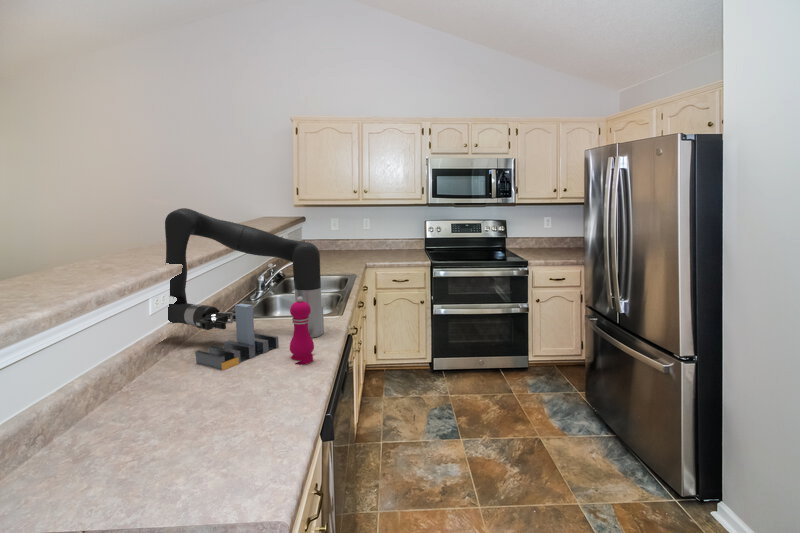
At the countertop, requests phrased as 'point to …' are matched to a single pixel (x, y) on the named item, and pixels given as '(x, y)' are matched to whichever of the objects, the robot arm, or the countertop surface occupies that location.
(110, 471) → the countertop surface
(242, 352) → the rack
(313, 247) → the robot arm
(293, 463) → the countertop surface
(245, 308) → the panel
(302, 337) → the pepper mill
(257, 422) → the countertop surface
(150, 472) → the countertop surface
